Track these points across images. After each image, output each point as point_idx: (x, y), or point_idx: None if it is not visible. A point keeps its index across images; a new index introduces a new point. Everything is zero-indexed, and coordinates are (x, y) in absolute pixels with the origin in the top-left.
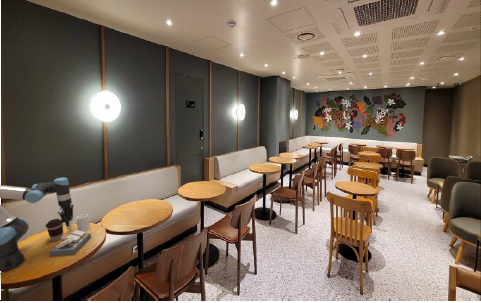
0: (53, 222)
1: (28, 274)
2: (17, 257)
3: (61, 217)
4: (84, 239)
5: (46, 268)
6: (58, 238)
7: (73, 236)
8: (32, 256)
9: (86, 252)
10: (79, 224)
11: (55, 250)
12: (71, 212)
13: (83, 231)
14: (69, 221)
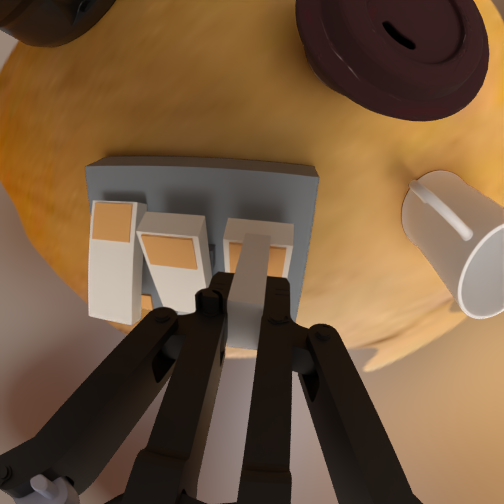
0: (356, 26)
1: (9, 156)
2: (27, 34)
3: (86, 392)
4: None
5: (36, 207)
6: (319, 78)
7: (188, 289)
8: (122, 35)
9: None
10: (434, 233)
11: (92, 202)
12: (322, 448)
13: (404, 224)
14: (228, 344)
